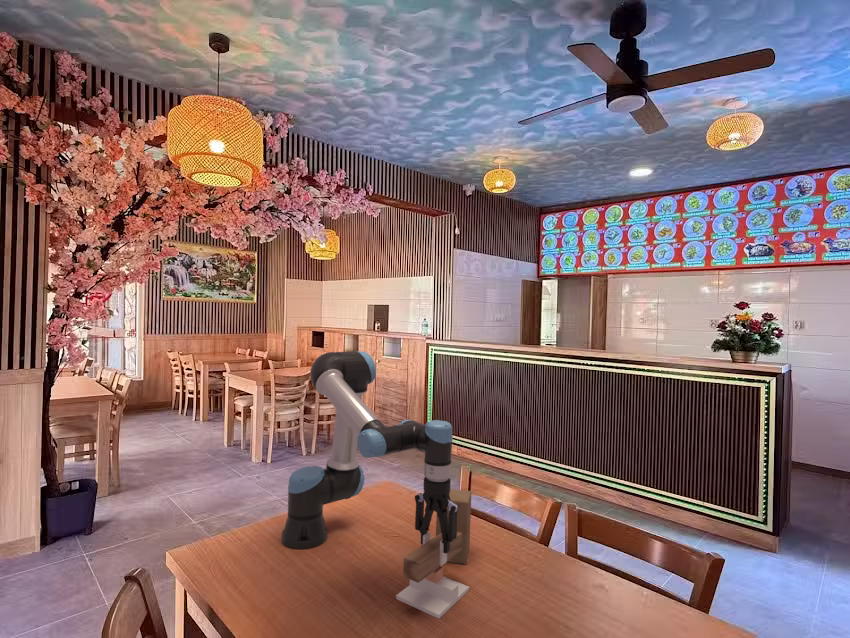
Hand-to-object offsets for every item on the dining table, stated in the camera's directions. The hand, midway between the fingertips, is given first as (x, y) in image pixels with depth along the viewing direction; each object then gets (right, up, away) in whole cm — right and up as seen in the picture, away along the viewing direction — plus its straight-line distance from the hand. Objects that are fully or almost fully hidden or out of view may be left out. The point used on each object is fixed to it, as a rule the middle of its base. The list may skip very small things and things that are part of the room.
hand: (434, 559), depth 134 cm
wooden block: (+6, -10, +22) cm, 25 cm away
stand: (0, -10, 0) cm, 10 cm away
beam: (0, -1, 0) cm, 1 cm away
